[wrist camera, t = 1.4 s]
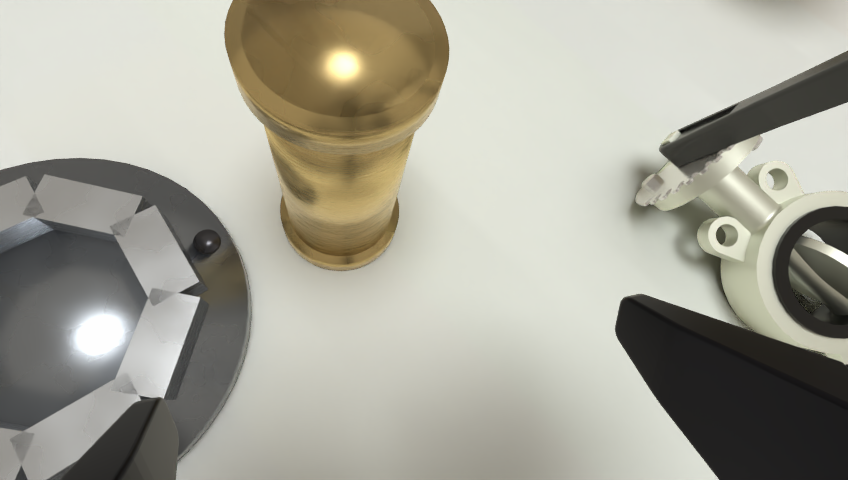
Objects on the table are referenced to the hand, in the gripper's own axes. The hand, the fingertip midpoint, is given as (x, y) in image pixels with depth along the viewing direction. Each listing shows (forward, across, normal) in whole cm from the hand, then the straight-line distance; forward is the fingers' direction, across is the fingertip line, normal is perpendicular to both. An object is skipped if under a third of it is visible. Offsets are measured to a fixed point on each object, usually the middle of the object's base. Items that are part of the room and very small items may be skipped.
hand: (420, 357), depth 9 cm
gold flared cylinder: (+16, 0, +4) cm, 17 cm away
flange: (+14, +13, +6) cm, 20 cm away
